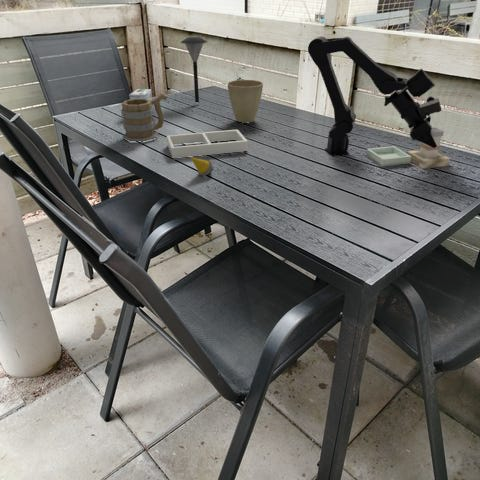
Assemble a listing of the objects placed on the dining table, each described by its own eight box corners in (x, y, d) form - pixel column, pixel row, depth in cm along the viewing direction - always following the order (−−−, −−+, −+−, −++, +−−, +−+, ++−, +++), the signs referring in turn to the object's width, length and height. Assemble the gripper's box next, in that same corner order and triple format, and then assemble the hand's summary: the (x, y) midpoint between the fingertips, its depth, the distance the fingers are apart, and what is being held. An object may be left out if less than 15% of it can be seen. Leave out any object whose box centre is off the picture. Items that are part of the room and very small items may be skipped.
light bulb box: (139, 112, 203) (137, 88, 198) (154, 113, 203) (151, 88, 197) (131, 119, 194) (128, 94, 189) (146, 119, 194) (143, 94, 188)
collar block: (422, 168, 143) (424, 161, 142) (405, 158, 152) (406, 151, 150) (448, 165, 146) (450, 158, 144) (430, 155, 154) (431, 148, 152)
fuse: (424, 164, 146) (432, 132, 141) (416, 160, 150) (423, 128, 144) (436, 163, 147) (443, 131, 142) (428, 159, 151) (435, 127, 145)
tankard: (134, 145, 164) (129, 105, 156) (118, 137, 172) (112, 98, 164) (179, 134, 175) (176, 96, 167) (162, 127, 183) (158, 90, 176)
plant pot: (268, 119, 192) (269, 81, 184) (251, 128, 182) (251, 88, 173) (239, 114, 199) (239, 78, 191) (221, 122, 188) (220, 84, 180)
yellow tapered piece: (216, 178, 139) (194, 162, 132) (204, 181, 142) (182, 166, 135) (219, 164, 141) (198, 147, 134) (207, 167, 144) (186, 151, 137)
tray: (381, 166, 145) (383, 159, 144) (365, 155, 154) (366, 148, 152) (410, 163, 147) (411, 156, 146) (392, 152, 156) (393, 146, 155)
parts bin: (172, 159, 152) (171, 148, 150) (167, 146, 163) (166, 135, 161) (247, 151, 158) (247, 141, 156) (237, 139, 169) (237, 129, 167)
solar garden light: (181, 107, 210) (176, 39, 194) (188, 101, 220) (184, 35, 205) (206, 108, 208) (203, 39, 193) (212, 102, 219) (209, 36, 203)
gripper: (429, 96, 130) (460, 136, 133) (428, 83, 145) (456, 119, 148) (397, 120, 136) (427, 158, 139) (399, 106, 151) (426, 140, 154)
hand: (435, 143), depth 145 cm, fingers open, 7 cm apart
